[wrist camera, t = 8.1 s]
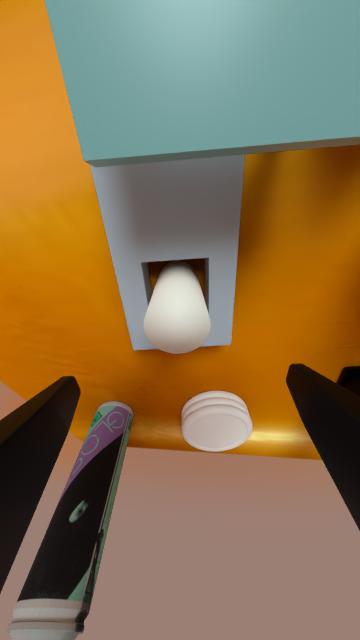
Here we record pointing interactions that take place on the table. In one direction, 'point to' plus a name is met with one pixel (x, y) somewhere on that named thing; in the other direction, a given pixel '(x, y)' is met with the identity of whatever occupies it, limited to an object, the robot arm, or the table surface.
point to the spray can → (75, 535)
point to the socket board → (173, 231)
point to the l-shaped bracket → (208, 76)
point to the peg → (177, 310)
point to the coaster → (215, 421)
